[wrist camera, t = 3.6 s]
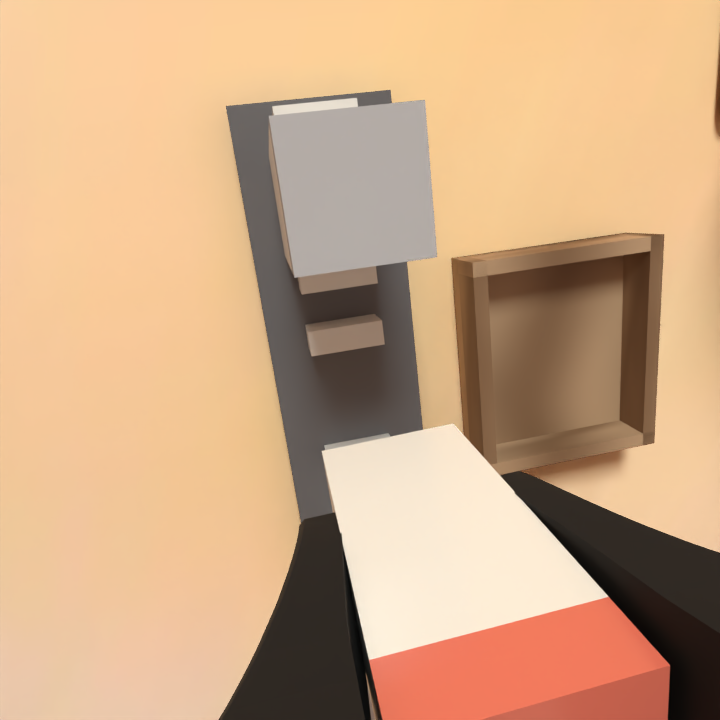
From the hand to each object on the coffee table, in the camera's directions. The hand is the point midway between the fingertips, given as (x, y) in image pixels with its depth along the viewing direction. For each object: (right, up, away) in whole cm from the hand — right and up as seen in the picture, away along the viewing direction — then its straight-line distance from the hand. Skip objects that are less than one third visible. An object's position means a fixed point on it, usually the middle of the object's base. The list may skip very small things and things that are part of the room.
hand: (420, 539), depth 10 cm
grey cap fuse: (-2, +8, +6) cm, 11 cm away
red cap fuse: (0, 0, +2) cm, 2 cm away
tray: (+6, +4, +10) cm, 13 cm away
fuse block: (-2, +3, +9) cm, 10 cm away
